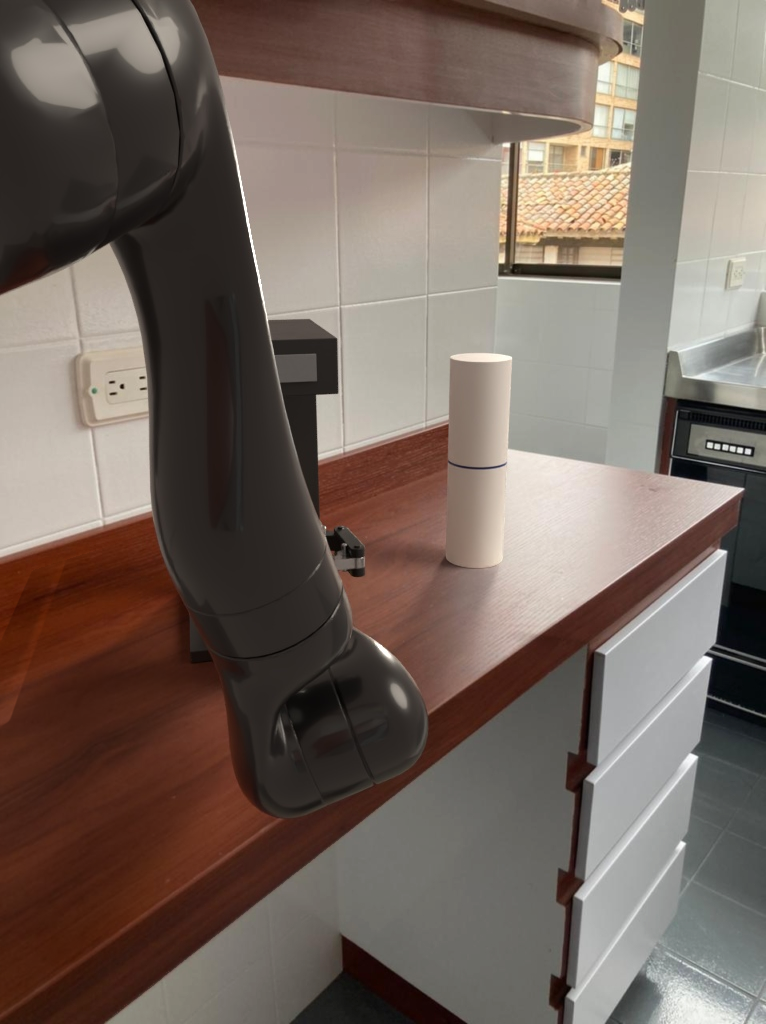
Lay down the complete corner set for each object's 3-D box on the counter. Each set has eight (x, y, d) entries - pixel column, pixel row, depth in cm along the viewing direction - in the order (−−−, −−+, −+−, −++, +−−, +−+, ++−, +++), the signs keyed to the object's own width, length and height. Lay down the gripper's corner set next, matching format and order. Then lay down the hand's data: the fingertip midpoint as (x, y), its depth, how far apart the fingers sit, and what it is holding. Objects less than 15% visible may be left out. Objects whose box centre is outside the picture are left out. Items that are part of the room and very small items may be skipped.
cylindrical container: (440, 564, 100) (444, 360, 92) (451, 544, 107) (456, 352, 99) (498, 570, 99) (507, 363, 90) (506, 549, 105) (515, 354, 97)
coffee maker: (191, 663, 78) (162, 345, 68) (189, 587, 94) (166, 322, 85) (355, 644, 81) (350, 339, 71) (326, 574, 98) (319, 318, 88)
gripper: (388, 546, 59) (346, 482, 74) (185, 563, 56) (185, 493, 71) (388, 639, 61) (348, 558, 77) (193, 661, 58) (192, 572, 74)
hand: (269, 527), depth 74 cm, fingers closed on sauce bottle, 6 cm apart
